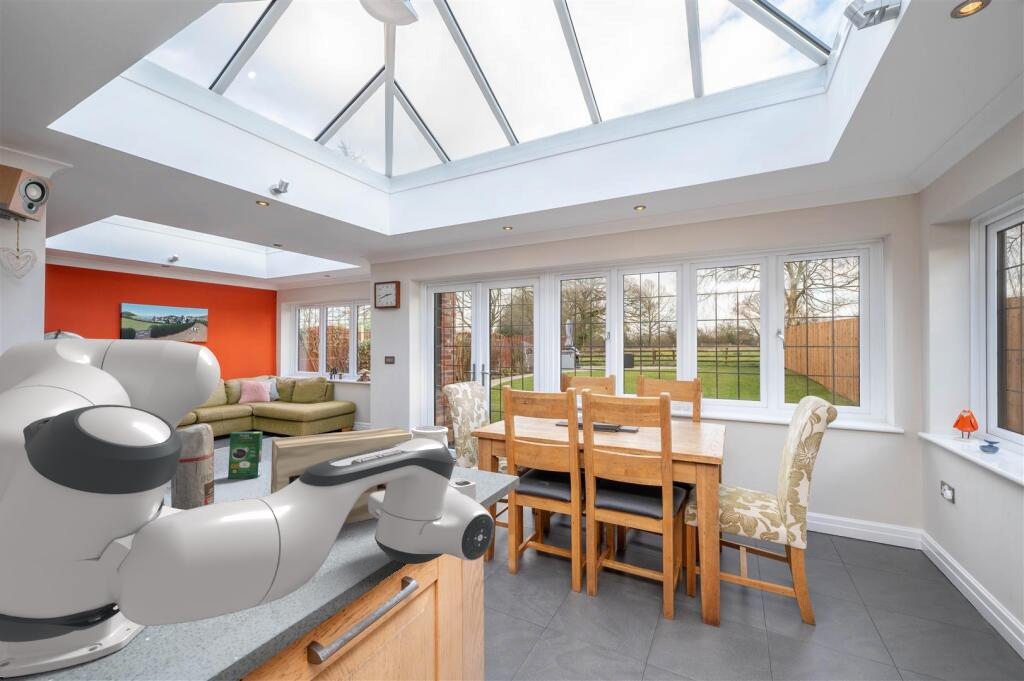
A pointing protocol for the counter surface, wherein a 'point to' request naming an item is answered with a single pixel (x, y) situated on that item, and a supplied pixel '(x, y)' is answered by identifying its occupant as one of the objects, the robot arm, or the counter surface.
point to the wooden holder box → (330, 457)
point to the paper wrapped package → (194, 469)
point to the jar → (431, 433)
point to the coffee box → (245, 454)
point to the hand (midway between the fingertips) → (407, 486)
